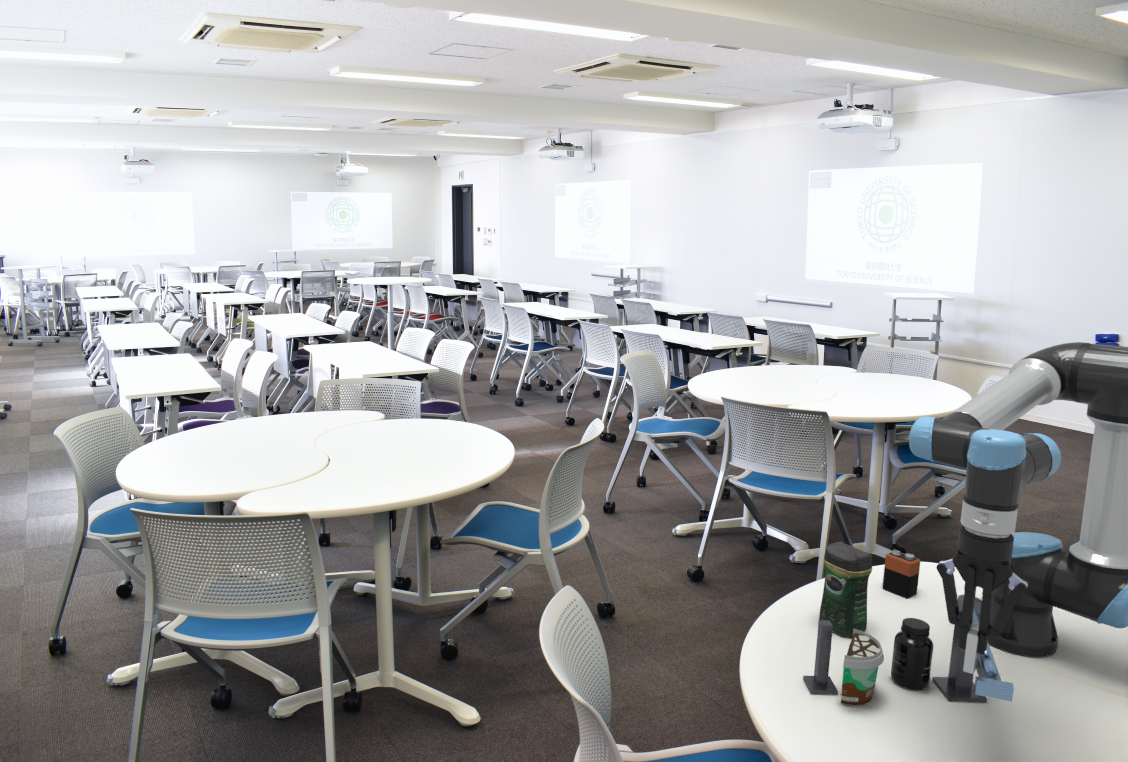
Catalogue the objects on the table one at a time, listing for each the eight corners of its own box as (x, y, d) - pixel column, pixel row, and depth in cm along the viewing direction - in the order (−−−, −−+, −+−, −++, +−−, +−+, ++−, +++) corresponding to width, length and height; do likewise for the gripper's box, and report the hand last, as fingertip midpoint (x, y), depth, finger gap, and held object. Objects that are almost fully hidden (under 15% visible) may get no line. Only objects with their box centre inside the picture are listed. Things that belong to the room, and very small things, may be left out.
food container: (875, 717, 140) (881, 665, 138) (839, 707, 142) (844, 656, 140) (883, 683, 150) (888, 635, 149) (849, 675, 153) (853, 627, 151)
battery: (907, 599, 187) (911, 559, 185) (881, 589, 192) (885, 550, 190) (917, 595, 189) (921, 555, 187) (891, 584, 194) (895, 546, 193)
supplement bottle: (932, 693, 147) (939, 634, 145) (894, 688, 149) (900, 629, 147) (924, 674, 154) (930, 617, 152) (887, 669, 155) (893, 613, 153)
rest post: (829, 680, 151) (834, 617, 149) (837, 694, 146) (843, 629, 144) (803, 679, 151) (808, 616, 149) (810, 694, 146) (816, 629, 144)
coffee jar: (872, 633, 170) (880, 551, 167) (847, 641, 166) (854, 558, 163) (837, 614, 178) (844, 536, 175) (812, 621, 174) (819, 542, 171)
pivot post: (968, 681, 152) (976, 615, 149) (987, 702, 145) (995, 634, 142) (931, 680, 152) (939, 614, 149) (948, 701, 145) (956, 632, 142)
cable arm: (951, 612, 148) (953, 592, 148) (981, 617, 147) (983, 597, 146) (974, 697, 120) (977, 673, 120) (1011, 704, 119) (1014, 680, 118)
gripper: (935, 526, 123) (920, 664, 128) (1031, 547, 116) (1011, 694, 120) (947, 513, 129) (932, 646, 134) (1038, 533, 121) (1019, 673, 126)
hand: (969, 668), depth 127 cm, fingers closed
